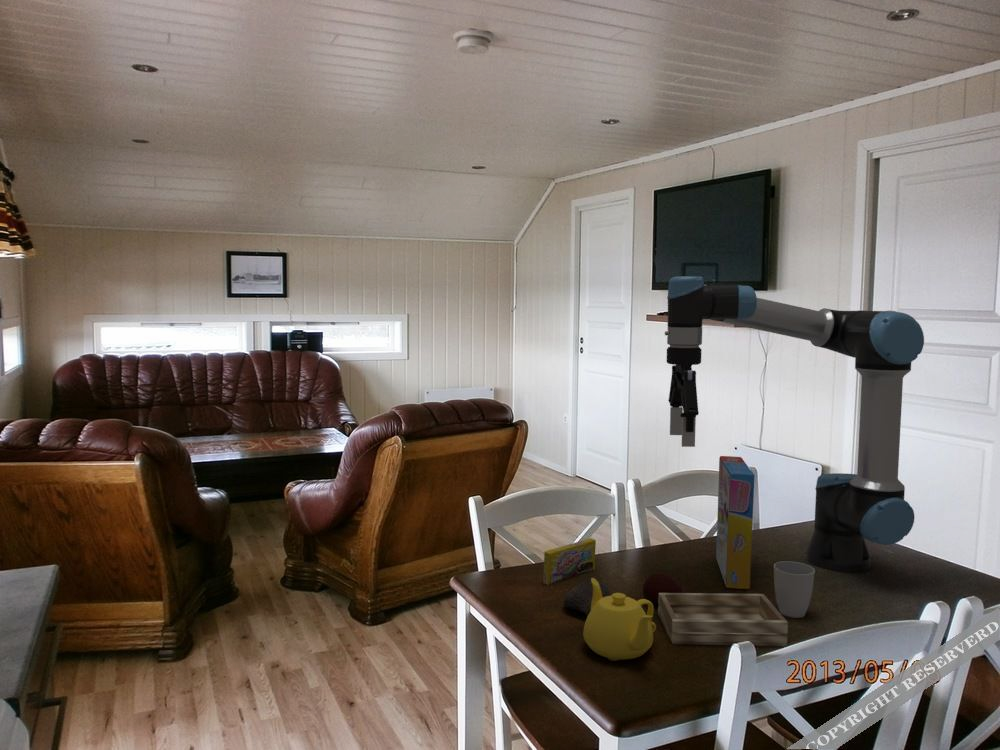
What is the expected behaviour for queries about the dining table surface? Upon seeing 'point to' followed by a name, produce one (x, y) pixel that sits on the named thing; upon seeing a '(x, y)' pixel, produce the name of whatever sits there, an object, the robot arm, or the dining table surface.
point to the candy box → (569, 561)
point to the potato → (659, 586)
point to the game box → (735, 521)
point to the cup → (793, 587)
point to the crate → (721, 619)
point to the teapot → (618, 625)
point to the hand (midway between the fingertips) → (681, 440)
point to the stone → (583, 596)
